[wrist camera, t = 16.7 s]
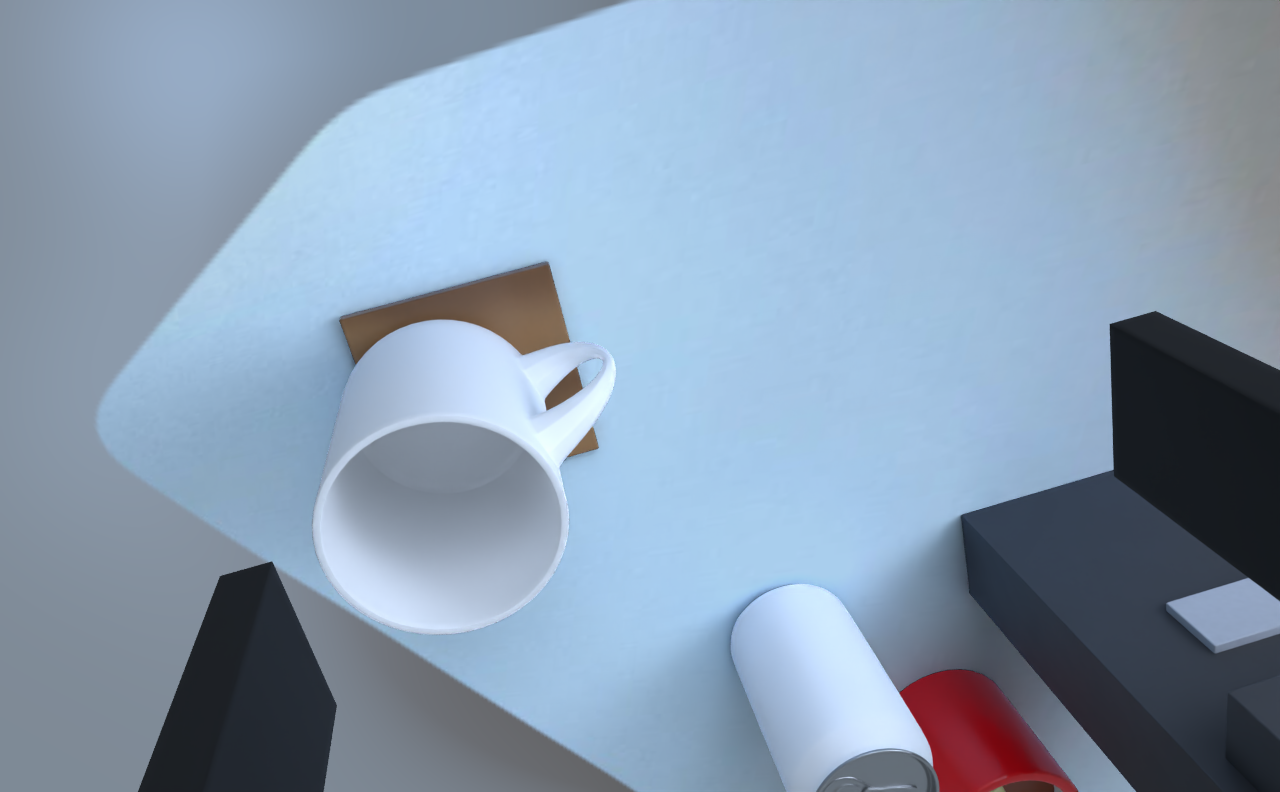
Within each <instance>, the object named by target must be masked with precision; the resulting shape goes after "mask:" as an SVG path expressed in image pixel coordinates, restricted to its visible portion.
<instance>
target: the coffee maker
mask: <svg viewBox="0 0 1280 792" xmlns="http://www.w3.org/2000/svg"><path fill="white" fill-rule="evenodd" d="M962 525H963V535H964V545H965V554H966V564H967V574H968V584H969V593H970V594H971V596H972V597H973V598H974V599H975V600H976V601H977V603H978V604H979V605H980V606H981V607H982V609H983V610H984V611H985V612H986V613H987V615H988V616H989V617H990V618H991V619H992V621H993V622H994V623H995V624H996V625H997V626H998V628H999V629H1000V630H1001V631H1002V632H1003V634H1004V635H1005V636H1006V637H1007V638H1008V640H1009V641H1010V642H1011V643H1012V644H1013V645H1014V647H1015V648H1016V649H1017V650H1018V651H1019V653H1020V654H1021V655H1022V656H1023V657H1024V659H1025V660H1026V661H1027V662H1028V663H1029V665H1030V666H1031V667H1032V668H1033V669H1034V670H1035V672H1036V673H1037V674H1038V675H1039V676H1040V678H1041V679H1042V680H1043V681H1044V682H1045V684H1046V685H1047V686H1048V687H1049V688H1050V690H1051V691H1052V692H1053V693H1054V694H1055V695H1056V697H1057V698H1058V699H1059V700H1060V701H1061V703H1062V704H1063V705H1064V706H1065V707H1066V709H1067V710H1068V711H1069V712H1070V713H1071V714H1072V716H1073V717H1074V718H1075V719H1076V720H1077V722H1078V723H1079V724H1080V725H1081V726H1082V728H1083V729H1084V730H1085V731H1086V732H1087V734H1088V735H1089V736H1090V737H1091V738H1092V739H1093V741H1094V742H1095V743H1096V744H1097V745H1098V747H1099V748H1100V749H1101V750H1102V751H1103V753H1104V754H1105V755H1106V756H1107V757H1108V759H1109V760H1110V761H1111V762H1112V763H1113V764H1114V766H1115V767H1116V768H1117V769H1118V770H1119V772H1120V773H1121V774H1122V775H1123V776H1124V778H1125V779H1126V780H1127V781H1128V782H1129V784H1130V785H1131V786H1132V787H1133V788H1134V789H1135V791H1136V792H1280V601H1279V600H1277V599H1276V598H1275V597H1273V596H1272V595H1271V594H1269V593H1268V592H1267V591H1265V590H1264V589H1263V588H1261V587H1260V586H1259V585H1257V584H1256V583H1255V582H1253V581H1252V580H1251V579H1249V578H1248V577H1247V576H1245V575H1244V574H1243V573H1242V572H1240V571H1239V570H1238V569H1236V568H1235V567H1234V566H1232V565H1231V564H1230V563H1228V562H1227V561H1226V560H1224V559H1223V558H1222V557H1220V556H1219V555H1218V554H1216V553H1215V552H1214V551H1212V550H1211V549H1210V548H1208V547H1207V546H1206V545H1204V544H1203V543H1202V542H1200V541H1199V540H1198V539H1197V538H1195V537H1194V536H1193V535H1191V534H1190V533H1189V532H1187V531H1186V530H1185V529H1183V528H1182V527H1181V526H1179V525H1178V524H1177V523H1175V522H1174V521H1173V520H1171V519H1170V518H1169V517H1167V516H1166V515H1165V514H1163V513H1162V512H1161V511H1159V510H1158V509H1157V508H1155V507H1154V506H1153V505H1151V504H1150V503H1149V502H1148V501H1146V500H1145V499H1144V498H1142V497H1141V496H1140V495H1138V494H1137V493H1136V492H1134V491H1133V490H1132V489H1130V488H1129V487H1128V486H1126V485H1125V484H1124V483H1122V482H1121V481H1120V480H1118V479H1117V478H1116V477H1114V470H1113V471H1109V472H1106V473H1103V474H1099V475H1096V476H1092V477H1089V478H1086V479H1082V480H1079V481H1075V482H1072V483H1069V484H1065V485H1062V486H1058V487H1055V488H1052V489H1048V490H1045V491H1041V492H1038V493H1035V494H1031V495H1028V496H1024V497H1021V498H1018V499H1014V500H1011V501H1007V502H1004V503H1001V504H997V505H994V506H990V507H987V508H984V509H980V510H977V511H973V512H970V513H967V514H963V515H962Z"/></svg>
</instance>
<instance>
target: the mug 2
mask: <svg viewBox="0 0 1280 792" xmlns="http://www.w3.org/2000/svg"><path fill="white" fill-rule="evenodd" d="M899 694H900V696H901V697H902V699H903V700H904V702H905V704H906V705H907V707H908V709H909V710H910V712H911V713H912V715H913V717H914V718H915V720H916V722H917V723H918V725H919V727H920V728H921V730H922V732H923V734H924V735H925V737H926V739H927V741H928V744H929V746H930V749H931V752H932V758H933V768H934V770H935V772H936V774H937V777H938V780H939V792H1078V790H1077V788H1076V787H1075V785H1074V784H1073V783H1072V781H1071V780H1070V779H1069V777H1068V776H1067V775H1066V774H1065V772H1064V771H1063V770H1062V768H1061V767H1060V766H1059V765H1058V763H1057V762H1056V761H1055V759H1054V758H1053V757H1052V756H1051V754H1050V753H1049V752H1048V750H1047V749H1046V748H1045V746H1044V745H1043V744H1042V743H1041V741H1040V740H1039V739H1038V737H1037V736H1036V735H1035V734H1034V732H1033V731H1032V730H1031V728H1030V727H1029V726H1028V724H1027V723H1026V722H1025V721H1024V719H1023V718H1022V717H1021V715H1020V714H1019V713H1018V712H1017V710H1016V709H1015V708H1014V706H1013V705H1012V704H1011V702H1010V701H1009V700H1008V699H1007V697H1006V696H1005V695H1004V693H1003V692H1002V691H1001V690H1000V688H999V687H998V686H997V685H996V684H995V683H994V682H993V681H992V680H991V679H989V678H988V677H986V676H984V675H982V674H980V673H977V672H974V671H968V670H947V671H942V672H937V673H934V674H931V675H928V676H926V677H923V678H921V679H919V680H917V681H916V682H914V683H912V684H910V685H909V686H908V687H906V688H905V689H904V690H902V691H901V692H900V693H899Z"/></svg>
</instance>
